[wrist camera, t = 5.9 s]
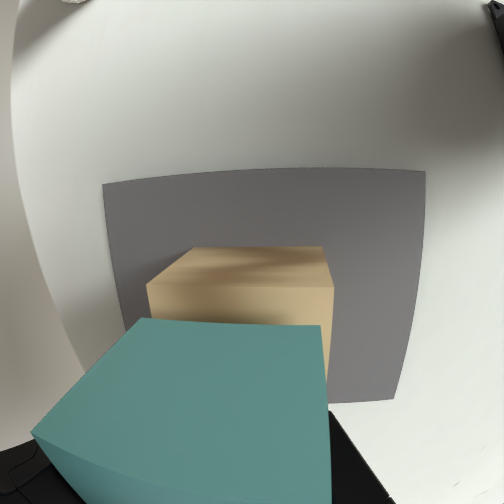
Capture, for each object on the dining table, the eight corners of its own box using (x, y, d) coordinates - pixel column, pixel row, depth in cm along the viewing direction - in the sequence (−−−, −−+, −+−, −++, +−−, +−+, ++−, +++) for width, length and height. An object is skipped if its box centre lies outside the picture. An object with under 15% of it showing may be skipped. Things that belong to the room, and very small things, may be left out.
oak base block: (321, 246, 13) (334, 287, 9) (317, 357, 15) (320, 426, 10) (193, 247, 14) (146, 284, 10) (206, 353, 16) (175, 414, 11)
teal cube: (320, 324, 7) (331, 504, 3) (309, 445, 9) (301, 570, 4) (141, 317, 8) (30, 431, 3) (172, 431, 9) (121, 536, 5)
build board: (421, 171, 12) (425, 171, 12) (391, 393, 16) (393, 399, 15) (107, 183, 15) (102, 184, 14) (145, 383, 18) (142, 387, 18)
